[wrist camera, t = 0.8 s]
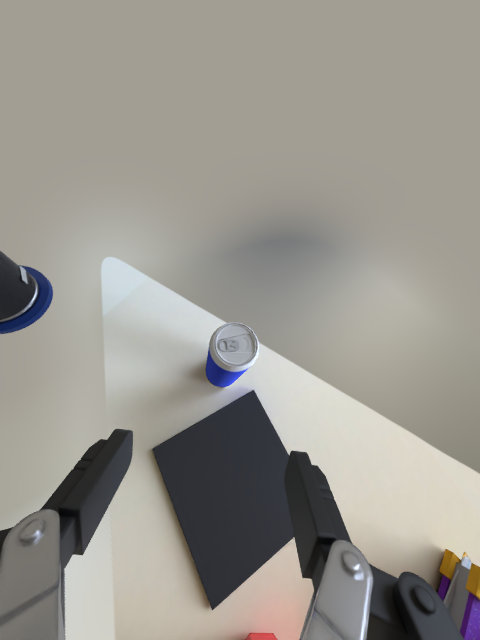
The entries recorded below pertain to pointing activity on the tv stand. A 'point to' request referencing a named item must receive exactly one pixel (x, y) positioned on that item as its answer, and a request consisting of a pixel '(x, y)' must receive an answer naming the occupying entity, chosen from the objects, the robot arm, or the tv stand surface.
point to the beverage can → (230, 353)
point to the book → (461, 593)
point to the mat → (229, 493)
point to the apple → (261, 636)
